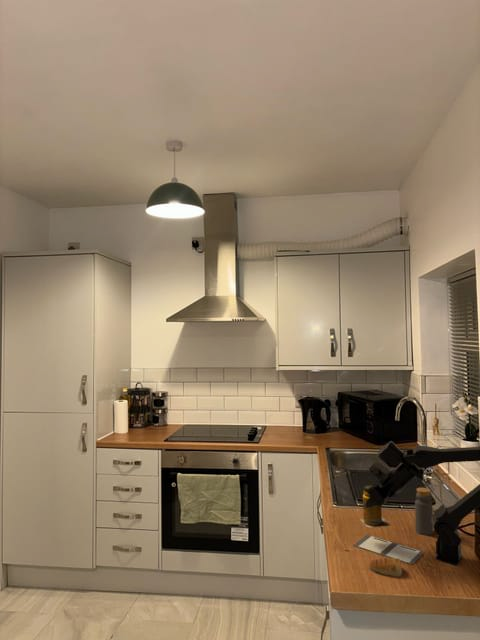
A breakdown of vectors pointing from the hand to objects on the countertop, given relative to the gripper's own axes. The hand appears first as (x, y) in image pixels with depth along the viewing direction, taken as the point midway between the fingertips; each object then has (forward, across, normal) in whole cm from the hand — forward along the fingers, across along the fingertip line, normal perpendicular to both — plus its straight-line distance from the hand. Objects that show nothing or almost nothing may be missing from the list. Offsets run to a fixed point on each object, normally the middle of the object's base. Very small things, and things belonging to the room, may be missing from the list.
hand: (370, 503), depth 157 cm
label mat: (+5, +1, +14) cm, 15 cm away
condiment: (+4, 0, +6) cm, 7 cm away
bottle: (+2, -20, +18) cm, 27 cm away
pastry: (+2, +14, +18) cm, 23 cm away
